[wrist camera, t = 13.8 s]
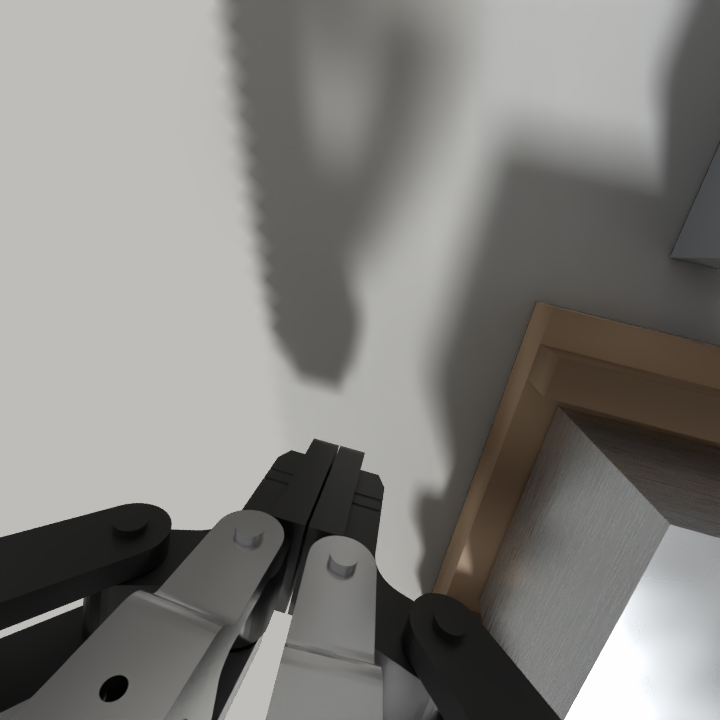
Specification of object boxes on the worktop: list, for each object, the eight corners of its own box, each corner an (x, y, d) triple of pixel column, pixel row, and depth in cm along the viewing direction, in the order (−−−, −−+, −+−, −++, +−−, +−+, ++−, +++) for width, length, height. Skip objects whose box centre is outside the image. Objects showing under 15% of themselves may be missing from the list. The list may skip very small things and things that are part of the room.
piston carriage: (557, 405, 11) (670, 524, 6) (786, 466, 10) (1099, 643, 6) (478, 602, 13) (516, 809, 8) (668, 659, 12) (827, 913, 8)
